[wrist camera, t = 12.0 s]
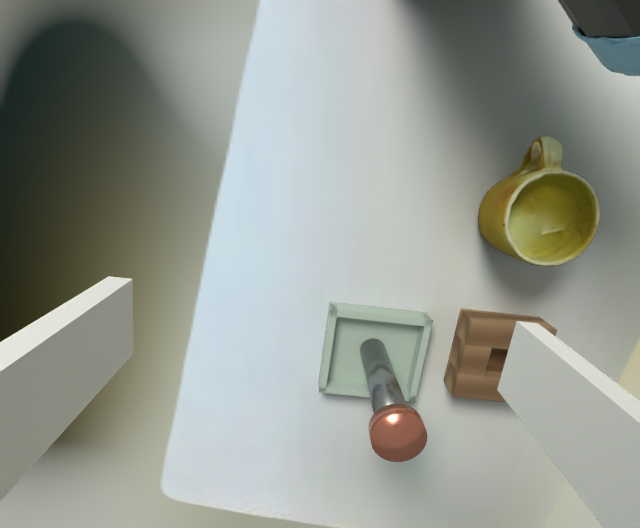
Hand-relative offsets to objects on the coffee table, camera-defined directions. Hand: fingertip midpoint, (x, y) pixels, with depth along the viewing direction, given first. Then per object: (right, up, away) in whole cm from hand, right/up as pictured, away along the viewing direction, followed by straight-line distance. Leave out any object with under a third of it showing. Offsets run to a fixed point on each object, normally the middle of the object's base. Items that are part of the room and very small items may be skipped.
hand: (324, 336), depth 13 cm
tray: (+6, -8, +35) cm, 37 cm away
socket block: (+21, -8, +36) cm, 42 cm away
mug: (+22, +10, +31) cm, 39 cm away
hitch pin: (+6, -8, +35) cm, 36 cm away
